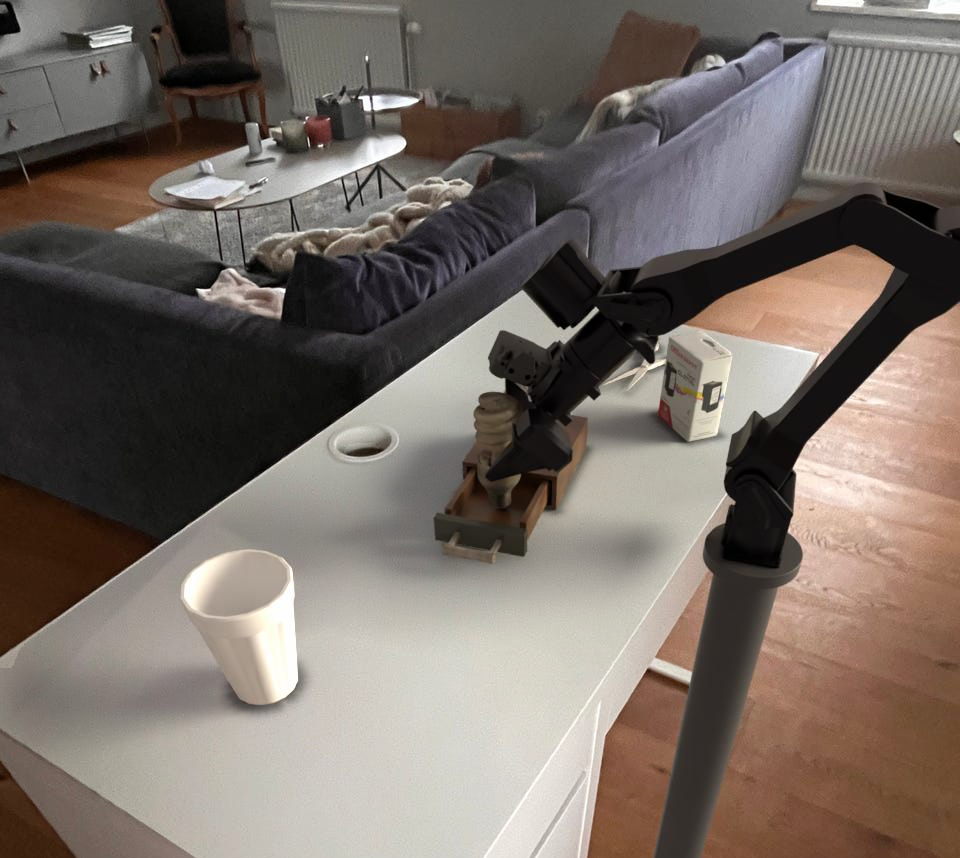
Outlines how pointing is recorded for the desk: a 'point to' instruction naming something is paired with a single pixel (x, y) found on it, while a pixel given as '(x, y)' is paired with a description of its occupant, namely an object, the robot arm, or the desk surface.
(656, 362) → the scissors
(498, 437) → the light bulb
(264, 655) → the cup
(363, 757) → the desk surface
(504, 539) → the drawer
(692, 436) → the ink box
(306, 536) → the desk surface
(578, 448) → the cabinet
